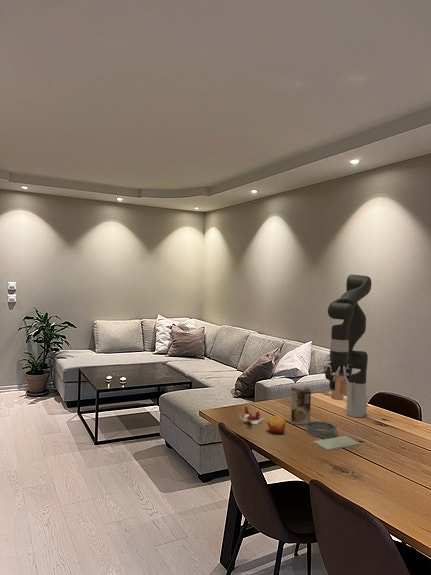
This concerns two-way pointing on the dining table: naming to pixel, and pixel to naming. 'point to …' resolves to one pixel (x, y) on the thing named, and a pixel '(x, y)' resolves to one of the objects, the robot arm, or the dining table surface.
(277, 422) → the fruit
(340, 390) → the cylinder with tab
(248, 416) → the figurine
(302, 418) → the coffee box
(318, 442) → the mat
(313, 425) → the holder
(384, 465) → the dining table surface
